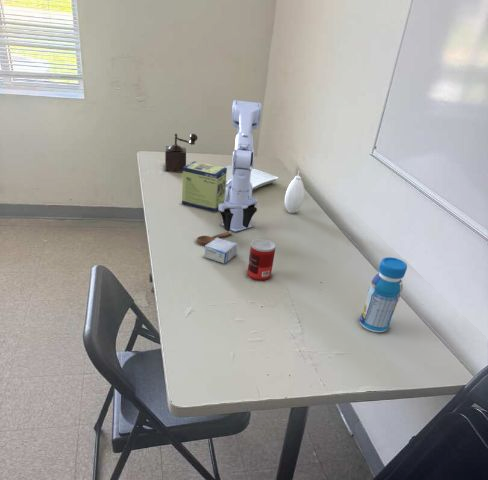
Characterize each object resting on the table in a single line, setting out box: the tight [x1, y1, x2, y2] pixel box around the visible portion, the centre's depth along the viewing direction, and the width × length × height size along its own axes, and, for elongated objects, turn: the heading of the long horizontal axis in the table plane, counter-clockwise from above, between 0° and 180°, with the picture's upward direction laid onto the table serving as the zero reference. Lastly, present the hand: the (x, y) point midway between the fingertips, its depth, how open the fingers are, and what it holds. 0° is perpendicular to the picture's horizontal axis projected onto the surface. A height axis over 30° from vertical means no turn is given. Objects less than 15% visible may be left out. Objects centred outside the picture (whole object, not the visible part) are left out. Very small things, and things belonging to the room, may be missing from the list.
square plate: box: [223, 164, 280, 191], centre depth 215 cm, size 27×27×4 cm
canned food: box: [247, 238, 277, 282], centre depth 140 cm, size 8×8×11 cm
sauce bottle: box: [284, 171, 305, 214], centre depth 186 cm, size 8×8×18 cm
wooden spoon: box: [196, 231, 232, 246], centre depth 161 cm, size 15×5×1 cm, turn 135°
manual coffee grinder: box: [164, 133, 199, 173], centre depth 217 cm, size 16×11×18 cm
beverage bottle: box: [359, 256, 408, 333], centre depth 121 cm, size 8×8×20 cm
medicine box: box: [204, 238, 238, 265], centre depth 150 cm, size 8×4×9 cm
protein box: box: [181, 161, 227, 213], centre depth 183 cm, size 10×16×16 cm
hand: (236, 228), depth 150 cm, fingers open, 7 cm apart
